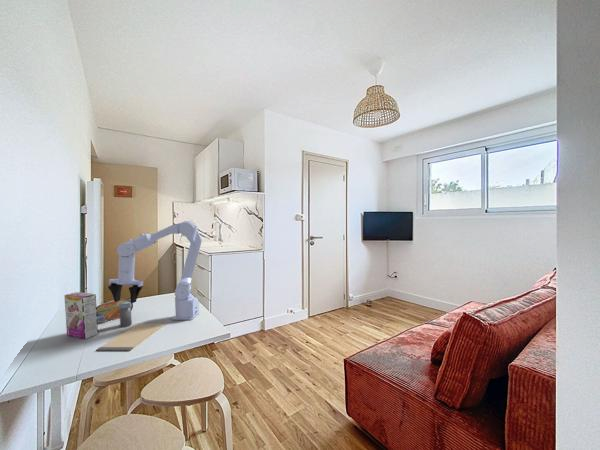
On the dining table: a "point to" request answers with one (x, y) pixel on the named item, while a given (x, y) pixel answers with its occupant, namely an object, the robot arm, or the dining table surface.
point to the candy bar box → (81, 315)
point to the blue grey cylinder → (125, 314)
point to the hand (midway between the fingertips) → (125, 301)
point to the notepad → (131, 338)
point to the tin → (110, 310)
